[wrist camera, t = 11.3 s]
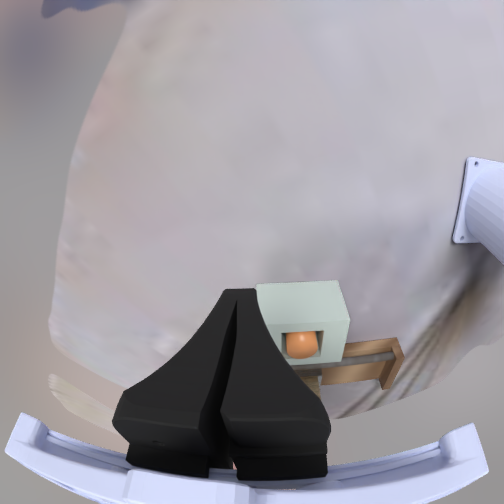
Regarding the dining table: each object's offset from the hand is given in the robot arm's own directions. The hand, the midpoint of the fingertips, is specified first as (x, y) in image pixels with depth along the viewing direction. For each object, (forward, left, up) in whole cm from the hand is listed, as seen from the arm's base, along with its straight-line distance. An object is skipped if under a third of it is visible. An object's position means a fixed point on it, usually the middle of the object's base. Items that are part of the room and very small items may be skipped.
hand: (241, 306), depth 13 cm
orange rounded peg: (-3, +9, -8) cm, 13 cm away
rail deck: (-8, +18, -10) cm, 22 cm away
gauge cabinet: (-4, +9, -10) cm, 14 cm away
